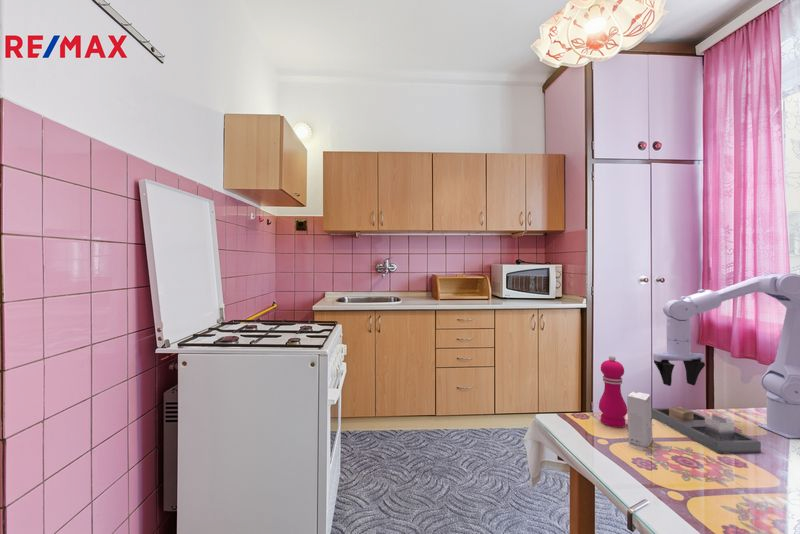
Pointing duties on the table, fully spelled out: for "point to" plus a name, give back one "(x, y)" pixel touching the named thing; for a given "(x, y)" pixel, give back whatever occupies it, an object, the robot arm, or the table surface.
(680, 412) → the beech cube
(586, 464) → the table surface
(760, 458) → the table surface
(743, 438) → the grey slotted frame
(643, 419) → the skincare box
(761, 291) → the robot arm
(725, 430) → the grey block with tab
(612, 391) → the pepper mill
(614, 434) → the table surface
